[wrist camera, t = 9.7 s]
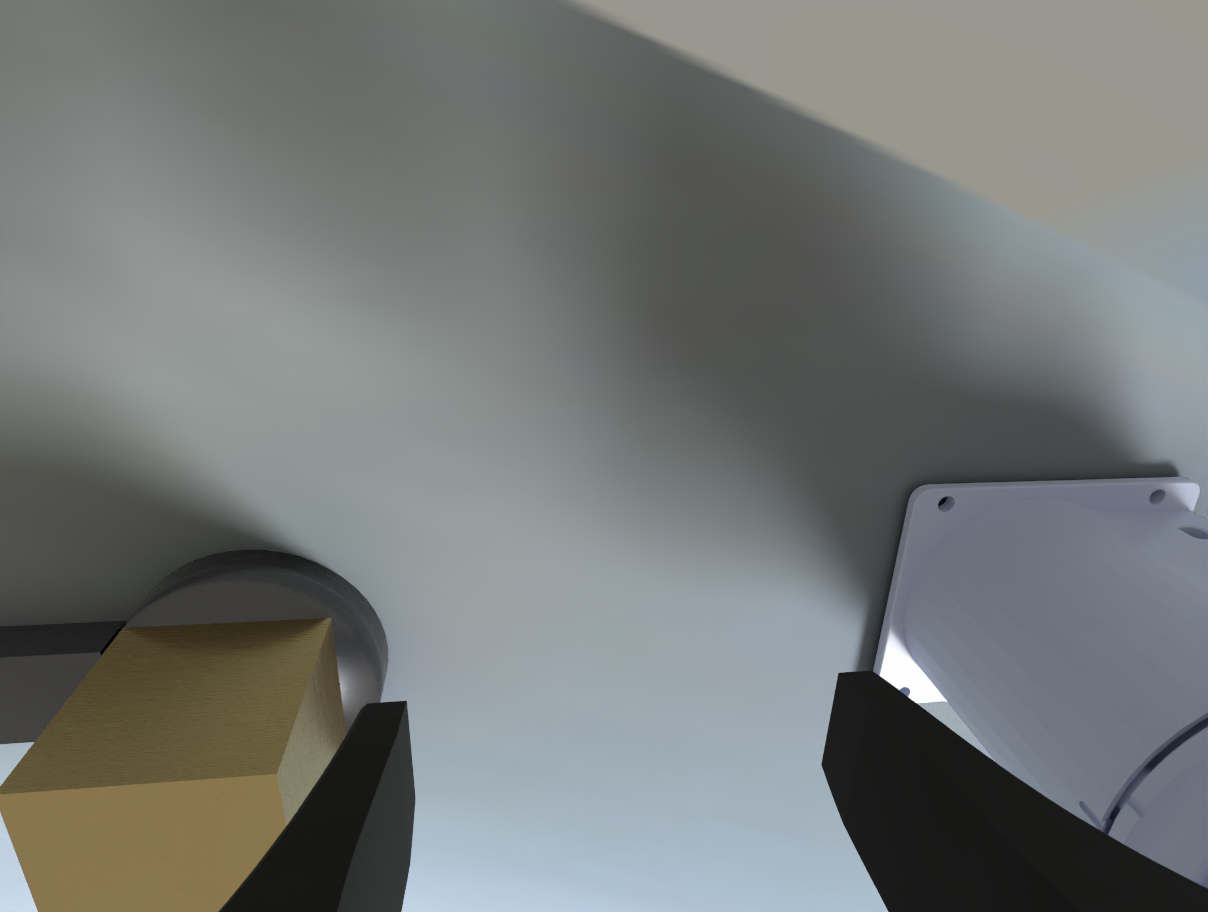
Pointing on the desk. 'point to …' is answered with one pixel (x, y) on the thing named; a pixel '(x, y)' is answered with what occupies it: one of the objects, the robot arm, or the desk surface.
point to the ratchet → (195, 596)
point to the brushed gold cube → (175, 765)
